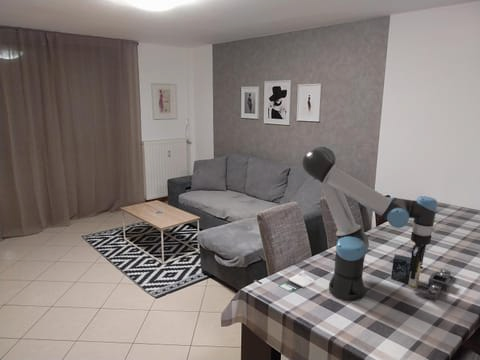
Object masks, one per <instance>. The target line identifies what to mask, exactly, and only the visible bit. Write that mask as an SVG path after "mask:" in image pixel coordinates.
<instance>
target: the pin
mask: <svg viewBox="0 0 480 360" xmlns="http://www.w3.org/2000/svg"><path fill="white" fill-rule="evenodd" d="M421 265H422V266H423V263H422V262H421V261H419V265H418V270H417V272H418V274H417V280H416V286H412V285H409V284H408V287H410V288H411V289H417V288H418V283H419V280H418V278H419V279H420V274H419V273H421V269H420V267H422V266H421Z"/></svg>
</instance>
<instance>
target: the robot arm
mask: <svg viewBox="0 0 480 360" xmlns="http://www.w3.org/2000/svg"><path fill="white" fill-rule="evenodd" d="M336 159H337V158H336V155H335V152H334V151H333V150H332V149H330V147H329V148H328V147H327V146H318V147H316V148H313V149H311V150H309V151H307V152H306V153H305V154H304V156H303V158H302V160H301V161H302V168H303V170H304V171H305V173H306V174H308V176H310V177H312V178H313V179H314V181H316V182H318V183H319V186H320V188H321V190H322V193H323V195H324V199H325V201H326V203H327V206H328V209H329V211H330V213H331V217H332V219H333V221H334V223H335V226H336V229H337V231H336V233H335V234H336V235H335V236H336V238H337V242H336V246H335V259H334V272H333V275H332V276H331V279H330V281H329V284H328V291H329V292H330V294H331V295H332V296H334V297H336V298H338V299H340V300H344V301H351V302H352V301H353V302H354V301H361V300H362V299H363V298H365V296H366V288H365V284H364V283H365V282H364V280H363V273H364V265H365V264H364V262H365V258H366V254H367V252H368V250H369V245H370V244H369V243H370V242H369V237H368V236H367V234H366V233H365V232H364V231H363V228H362V226H361V225H360V224H359V223H356V220H355V218H354V216H353V213H352V210H351V208H350V205H349V204H348V200H347V198H346V196H347V197H349V198H350V199H352V200H354V201H355V202H357V203H360V204H361V205H363V206H364V207H366V208H367V209H369V210H371V211H372V212H373V213H375V214H377V215H379V216H381V217H382V218H384V219H385V220H387V222H388V225H389V224H390V226H391V227H393V228H396V229H400V228H404V227H405V226H406V225H407V224H408V222H409V220H410V219H413V222H412V227H411V228H412V229H411V230H412V231H411V235H410V240H411V242H413V243H414V245H413V247H412V250H411V263H410V269H409V271H410V277H409V283H408V282H407V283H408V286H409V285H412V286H416V280H417V274H418V272H417V270H418V265H419V261H421V262H422V265H421V267H420V270H423V268H424V267H423V262H424V257H425V252H426V247H427V245H428V246H429V245H430V244H431V241H432V234H433V231H434V230H435V228H434V223H435V218H436V213H437V204H438V201H437V200H436V198H434V197H432V196H431V197H430V196H426V195H425V196H423V195H420V196H418V197H416V199H415V200H411V199H405V198H400V197H399V198H398V197H395V196H394V197H393V196H392V197H391V196H388V197H387V196H385V195H384V194H382V193H380V192H379V191H377V190H375V189H373V188H371V187H370V186H368V185H367V184H365V183H363V182H362V181H360V180H359V179H356V178H355V177H354V176H351V175H350V174H348V173H346V172H345V171H343V170H341V169H339V167H338V166H337V163H336ZM420 273H421V272H420ZM420 273H419V275H420ZM419 279H420V277H419V278H418V281H419Z"/></svg>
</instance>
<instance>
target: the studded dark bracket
mask: <svg viewBox="0 0 480 360" xmlns="http://www.w3.org/2000/svg"><path fill="white" fill-rule="evenodd" d="M451 274H452V272H451V271H450V270H449V269H447V268H443V269H440V271H439V272H438V274H437V273H434V272H433V273H432V274H430V277H429V278H428V281H427V282H428V283H427V287H428V289H427V290H426V292H425V296H424V297H425V298H426V299H428V300H430V301H434V302H436V301H437V300H438V298H439V296H440V295H441V293H442V291H443V292H447V291H448V290H449V289H450V286H451V280H452V278H451Z"/></svg>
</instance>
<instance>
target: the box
mask: <svg viewBox="0 0 480 360" xmlns="http://www.w3.org/2000/svg"><path fill="white" fill-rule="evenodd" d="M392 262H393V263H392V270H391V277H390V279H391V280H392V279H393V280H395V281H396V280H397V281H400V282H405V283H409V277H410V271H409V269H410V263H411V257H410V256H405V255H400V254H396V253H394V256H393V261H392Z"/></svg>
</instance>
